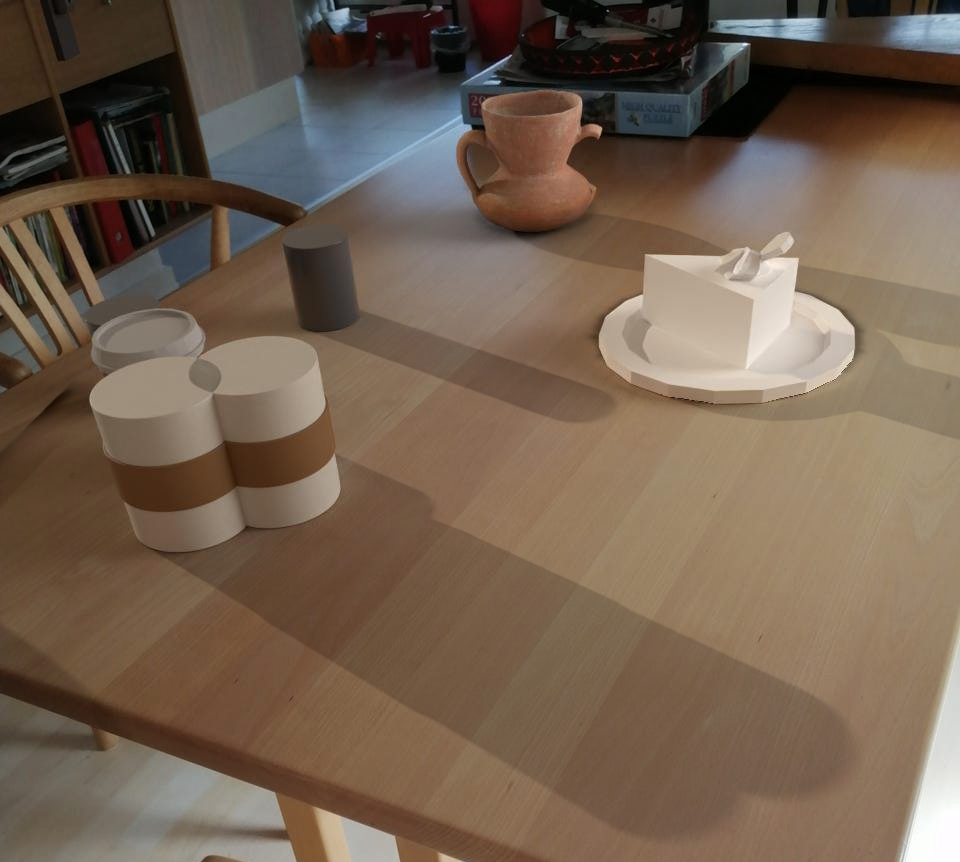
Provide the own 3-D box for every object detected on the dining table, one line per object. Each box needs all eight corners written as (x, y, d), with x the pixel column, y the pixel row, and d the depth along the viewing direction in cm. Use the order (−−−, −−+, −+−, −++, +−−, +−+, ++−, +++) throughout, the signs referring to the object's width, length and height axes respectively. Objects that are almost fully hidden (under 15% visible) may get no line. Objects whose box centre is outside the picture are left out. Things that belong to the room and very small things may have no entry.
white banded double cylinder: (109, 549, 84) (61, 417, 76) (181, 456, 94) (145, 331, 86) (306, 563, 80) (276, 426, 73) (357, 465, 91) (336, 336, 83)
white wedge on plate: (887, 319, 106) (910, 205, 99) (794, 428, 91) (814, 304, 84) (668, 277, 117) (675, 173, 110) (554, 369, 102) (552, 255, 95)
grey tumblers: (99, 398, 104) (70, 312, 98) (333, 299, 119) (321, 219, 113) (135, 420, 100) (107, 332, 94) (373, 315, 115) (361, 233, 109)
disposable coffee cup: (109, 456, 95) (66, 332, 87) (200, 417, 99) (167, 296, 92) (158, 495, 89) (118, 367, 81) (252, 452, 94) (222, 327, 86)
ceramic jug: (602, 200, 138) (603, 82, 129) (599, 240, 127) (600, 115, 118) (468, 204, 140) (460, 88, 131) (454, 244, 129) (444, 121, 120)
